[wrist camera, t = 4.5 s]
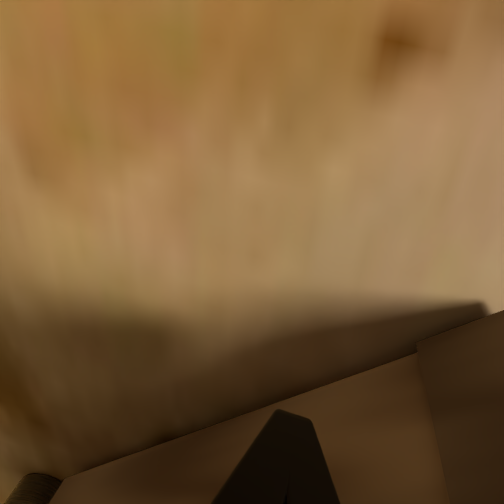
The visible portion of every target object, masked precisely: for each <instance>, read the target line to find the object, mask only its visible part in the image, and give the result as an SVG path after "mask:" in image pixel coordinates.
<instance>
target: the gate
mask: <svg viewBox="0 0 504 504" xmlns="http://www.w3.org/2000/svg"><path fill="white" fill-rule="evenodd" d="M416 346H417V351H418V353H415V354H412V355H409V356H406V357H404V358H401V359H398V360H395V361H392V362H390V363H387V364H384V365H381V366H378V367H376V368H373V369H370V370H367V371H364V372H362V373H359V374H356V375H353V376H350V377H348V378H345V379H342V380H339V381H336V382H333V383H331V384H328V385H325V386H322V387H319V388H317V389H314V390H311V391H308V392H305V393H303V394H300V395H297V396H294V397H291V398H289V399H286V400H283V401H280V402H277V403H275V404H272V405H269V406H266V407H263V408H261V409H258V410H255V411H252V412H249V413H247V414H244V415H241V416H238V417H235V418H232V419H230V420H227V421H224V422H221V423H218V424H216V425H213V426H210V427H207V428H204V429H202V430H199V431H196V432H193V433H190V434H188V435H185V436H182V437H179V438H176V439H174V440H171V441H168V442H165V443H162V444H160V445H157V446H154V447H151V448H148V449H146V450H143V451H140V452H137V453H134V454H131V455H129V456H126V457H123V458H120V459H117V460H115V461H112V462H109V463H106V464H103V465H101V466H98V467H95V468H92V469H89V470H87V471H84V472H81V473H78V474H75V475H73V476H70V477H67V478H65V479H64V481H63V482H62V484H61V485H60V487H59V488H58V490H57V491H56V493H55V495H54V496H53V498H52V499H51V501H50V502H49V504H210V503H211V502H212V500H213V499H214V497H215V496H216V494H217V493H218V491H219V490H220V488H221V487H222V486H223V484H224V483H225V481H226V480H227V478H228V477H229V475H230V474H231V473H232V471H233V470H234V468H235V467H236V465H237V464H238V462H239V461H240V460H241V458H242V457H243V455H244V454H245V452H246V451H247V449H248V448H249V447H250V445H251V444H252V442H253V441H254V439H255V438H256V436H257V435H258V433H259V432H260V431H261V429H262V428H263V426H264V425H265V423H266V422H267V420H268V419H269V418H270V416H271V415H272V413H273V412H274V411H275V410H276V409H282V410H285V411H288V412H291V413H294V414H297V415H300V416H303V417H306V418H309V419H310V420H311V421H312V423H313V425H314V428H315V431H316V434H317V437H318V440H319V443H320V446H321V449H322V451H323V454H324V457H325V460H326V463H327V466H328V469H329V472H330V475H331V478H332V480H333V483H334V486H335V489H336V492H337V495H338V498H339V501H340V504H504V310H503V311H500V312H497V313H495V314H492V315H489V316H487V317H484V318H481V319H478V320H476V321H473V322H470V323H467V324H465V325H462V326H459V327H457V328H454V329H451V330H448V331H446V332H443V333H440V334H437V335H435V336H432V337H429V338H427V339H424V340H421V341H418V342H416Z"/></svg>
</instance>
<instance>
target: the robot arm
mask: <svg viewBox="0 0 504 504" xmlns="http://www.w3.org/2000/svg"><path fill="white" fill-rule="evenodd" d="M210 504H340V501H339V498H338V495H337V492H336V489H335V486H334V483H333V480H332V478H331V475H330V472H329V469H328V466H327V463H326V460H325V457H324V454H323V451H322V449H321V446H320V443H319V440H318V437H317V434H316V431H315V428H314V425H313V423H312V421H311V420H310V419H309V418H306V417H303V416H300V415H297V414H294V413H291V412H288V411H285V410H282V409H276V410H275V411H274V412H273V413H272V415H271V416H270V418H269V419H268V420H267V422H266V423H265V425H264V426H263V428H262V429H261V431H260V432H259V433H258V435H257V436H256V438H255V439H254V441H253V442H252V444H251V445H250V447H249V448H248V449H247V451H246V452H245V454H244V455H243V457H242V458H241V460H240V461H239V462H238V464H237V465H236V467H235V468H234V470H233V471H232V473H231V474H230V475H229V477H228V478H227V480H226V481H225V483H224V484H223V486H222V487H221V488H220V490H219V491H218V493H217V494H216V496H215V497H214V499H213V500H212V502H211V503H210Z"/></svg>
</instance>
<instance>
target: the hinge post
mask: <svg viewBox="0 0 504 504" xmlns="http://www.w3.org/2000/svg"><path fill="white" fill-rule="evenodd" d="M61 484H62V482H60V481H58V480H57V479H54V478H52V477H50V476H47V475H43V474H29V475H26V476H25V477H23V479H22V480H21V481H20V483H19V484H18V485H17V487H16V488H15V489H14V491H13V492H12V493H11V495H10V496H9V498H8V499H7V500H6V502H5V503H4V504H49V502H50V501H51V499H52V498H53V496H54V495H55V493H56V491H57V490H58V488H59V487H60V485H61Z"/></svg>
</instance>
